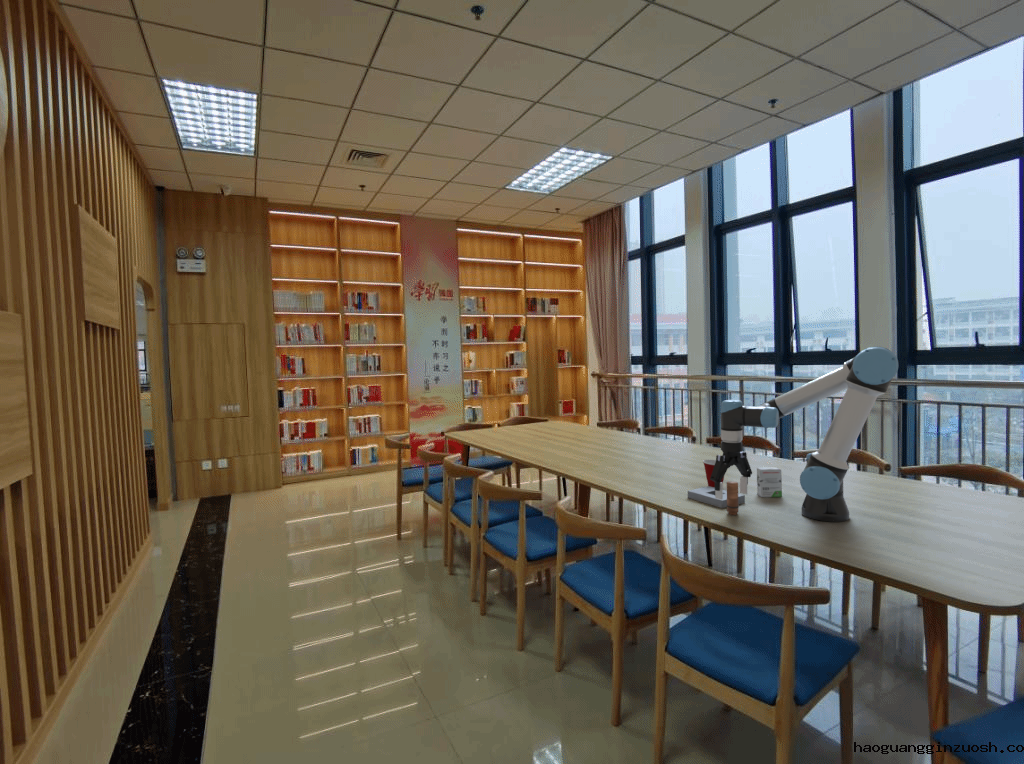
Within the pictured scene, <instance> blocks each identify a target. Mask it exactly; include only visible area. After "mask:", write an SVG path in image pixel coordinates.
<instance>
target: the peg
mask: <svg viewBox="0 0 1024 764" xmlns="http://www.w3.org/2000/svg"><path fill="white" fill-rule="evenodd" d="M726 491H727V507H726V511H727V513H728V515H729V516H730V515H731V516H736V515H738V513H739V505H740V504H738V494H739V482H737V481H727V482H726Z"/></svg>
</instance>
